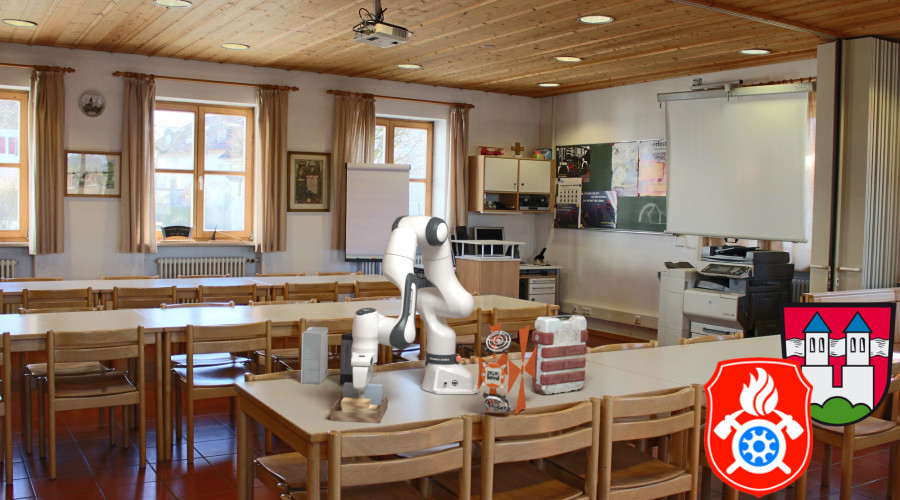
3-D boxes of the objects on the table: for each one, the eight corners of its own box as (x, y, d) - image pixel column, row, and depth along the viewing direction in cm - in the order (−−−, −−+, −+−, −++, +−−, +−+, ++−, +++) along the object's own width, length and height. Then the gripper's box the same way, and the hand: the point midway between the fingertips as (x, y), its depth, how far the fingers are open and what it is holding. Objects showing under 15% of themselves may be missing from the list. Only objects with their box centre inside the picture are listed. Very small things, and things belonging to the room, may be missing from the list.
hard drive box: (308, 375, 321) (310, 326, 320) (327, 376, 320) (329, 327, 320) (300, 383, 305) (301, 332, 304) (319, 384, 305) (321, 333, 304)
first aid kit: (571, 386, 320) (574, 312, 318) (586, 390, 313) (589, 315, 312) (528, 392, 306) (532, 315, 305) (543, 396, 299) (546, 318, 298)
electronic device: (353, 387, 302) (355, 335, 301) (338, 386, 303) (340, 334, 302) (360, 382, 311) (362, 332, 310) (346, 381, 312) (348, 331, 311)
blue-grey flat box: (381, 410, 270) (382, 384, 269) (380, 412, 267) (381, 386, 266) (344, 408, 270) (345, 382, 270) (342, 410, 267) (343, 384, 267)
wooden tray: (387, 408, 273) (387, 396, 272) (379, 423, 253) (380, 410, 253) (341, 405, 273) (341, 394, 273) (330, 420, 254) (330, 408, 254)
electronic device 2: (475, 417, 265) (479, 328, 263) (506, 399, 293) (509, 319, 291) (506, 422, 261) (510, 332, 259) (534, 403, 288) (537, 321, 287)
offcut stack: (378, 417, 262) (379, 399, 261) (376, 421, 257) (377, 402, 256) (339, 415, 262) (340, 397, 262) (336, 418, 257) (337, 400, 257)
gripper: (360, 350, 278) (358, 389, 279) (350, 361, 258) (348, 403, 259) (377, 351, 278) (376, 390, 279) (369, 362, 258) (367, 404, 258)
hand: (362, 396), depth 268 cm, fingers open, 5 cm apart
